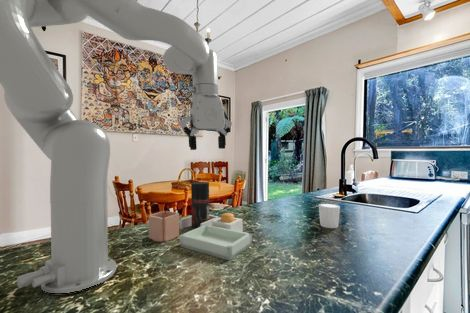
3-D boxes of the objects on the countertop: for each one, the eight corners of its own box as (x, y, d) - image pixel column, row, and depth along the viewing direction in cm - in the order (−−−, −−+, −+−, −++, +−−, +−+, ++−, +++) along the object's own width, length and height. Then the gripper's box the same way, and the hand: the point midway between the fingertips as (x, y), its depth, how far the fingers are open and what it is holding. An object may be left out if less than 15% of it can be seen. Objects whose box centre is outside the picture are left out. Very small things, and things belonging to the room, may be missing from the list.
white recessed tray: (228, 239, 66) (228, 225, 66) (180, 228, 77) (179, 216, 77) (244, 230, 75) (244, 217, 75) (198, 221, 85) (198, 210, 85)
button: (229, 231, 70) (229, 217, 70) (218, 229, 72) (218, 215, 72) (236, 227, 73) (236, 214, 73) (225, 225, 75) (225, 212, 75)
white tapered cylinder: (336, 222, 82) (336, 203, 82) (343, 229, 75) (343, 207, 75) (316, 222, 83) (316, 203, 83) (321, 228, 76) (321, 207, 76)
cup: (163, 243, 64) (162, 219, 64) (146, 238, 68) (146, 215, 67) (181, 235, 70) (181, 213, 70) (165, 231, 73) (165, 210, 73)
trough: (230, 260, 53) (229, 247, 53) (180, 246, 62) (180, 235, 62) (251, 244, 63) (251, 233, 63) (205, 234, 71) (205, 224, 71)
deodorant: (208, 229, 75) (207, 184, 75) (189, 229, 75) (189, 184, 75) (210, 224, 81) (210, 181, 81) (193, 224, 81) (193, 181, 81)
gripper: (182, 87, 62) (185, 150, 63) (236, 92, 71) (238, 148, 72) (173, 93, 68) (176, 150, 69) (224, 97, 78) (226, 148, 79)
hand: (208, 149), depth 71 cm, fingers open, 9 cm apart
